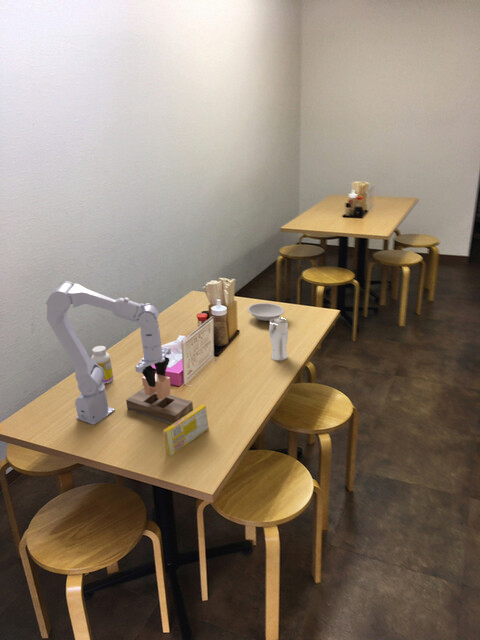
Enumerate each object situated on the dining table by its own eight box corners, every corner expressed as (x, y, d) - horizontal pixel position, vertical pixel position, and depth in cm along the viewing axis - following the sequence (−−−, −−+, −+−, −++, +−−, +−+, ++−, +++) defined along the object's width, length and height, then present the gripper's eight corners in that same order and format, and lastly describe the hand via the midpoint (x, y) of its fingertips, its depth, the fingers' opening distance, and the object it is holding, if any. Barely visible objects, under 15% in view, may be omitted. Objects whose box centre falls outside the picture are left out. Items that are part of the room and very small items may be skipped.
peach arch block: (163, 399, 168) (161, 383, 166) (144, 393, 172) (141, 377, 170) (171, 394, 171) (169, 377, 169) (152, 388, 175) (150, 371, 173)
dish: (240, 320, 239) (239, 309, 237) (262, 310, 248) (262, 300, 246) (269, 330, 227) (269, 319, 225) (291, 320, 236) (291, 309, 234)
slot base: (175, 425, 165) (174, 415, 164) (127, 409, 175) (126, 399, 174) (193, 411, 172) (192, 401, 171) (145, 396, 182) (144, 387, 181)
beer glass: (288, 353, 207) (288, 317, 201) (288, 361, 200) (287, 324, 195) (270, 353, 208) (269, 317, 202) (269, 361, 201) (268, 324, 195)
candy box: (204, 426, 164) (201, 403, 161) (209, 429, 163) (207, 406, 160) (165, 454, 153) (162, 429, 150) (170, 456, 152) (167, 432, 148)
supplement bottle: (90, 383, 193) (85, 350, 188) (103, 374, 198) (97, 343, 193) (105, 386, 190) (99, 354, 185) (117, 378, 195) (112, 346, 190)
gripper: (146, 356, 157) (151, 396, 162) (176, 337, 168) (180, 375, 173) (128, 351, 161) (133, 391, 166) (159, 333, 172) (163, 370, 177)
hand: (156, 382), depth 170 cm, fingers closed on peach arch block, 4 cm apart
